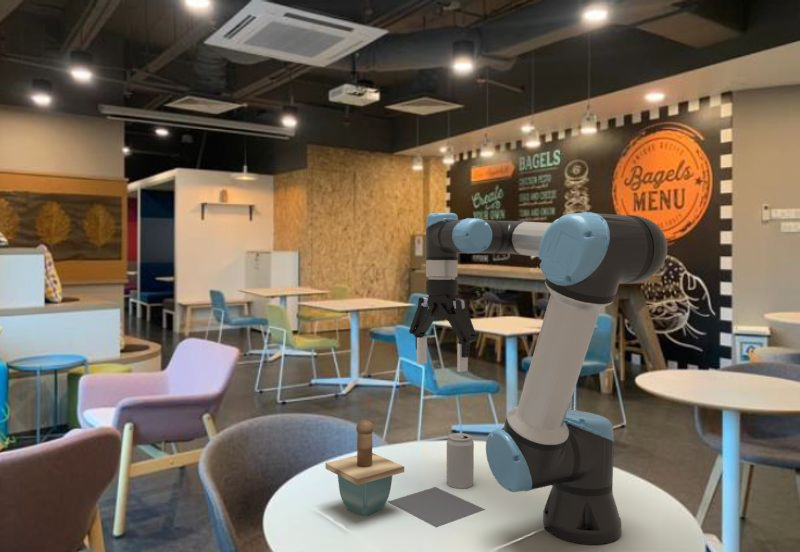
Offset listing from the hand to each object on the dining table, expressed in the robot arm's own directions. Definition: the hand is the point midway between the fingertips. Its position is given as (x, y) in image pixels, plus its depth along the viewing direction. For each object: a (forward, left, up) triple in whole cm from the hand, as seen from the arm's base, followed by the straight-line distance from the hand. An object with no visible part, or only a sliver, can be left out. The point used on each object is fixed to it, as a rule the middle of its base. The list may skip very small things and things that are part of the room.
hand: (441, 367), depth 145 cm
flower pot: (-2, +23, -28) cm, 37 cm away
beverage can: (-4, -3, -28) cm, 29 cm away
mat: (-10, +10, -28) cm, 32 cm away
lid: (-2, +24, -19) cm, 31 cm away
